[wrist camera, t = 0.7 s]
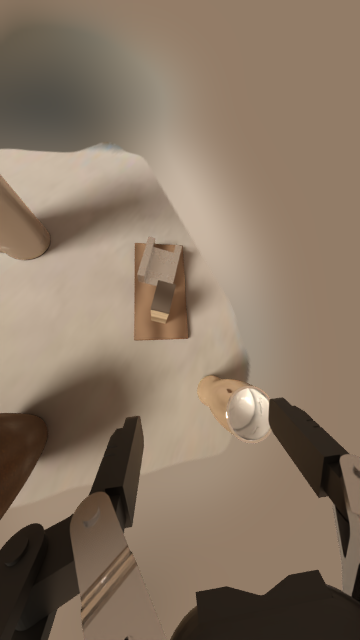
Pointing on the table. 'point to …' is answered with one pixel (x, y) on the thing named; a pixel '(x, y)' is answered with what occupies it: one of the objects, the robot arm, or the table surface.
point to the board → (144, 298)
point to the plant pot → (18, 453)
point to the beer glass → (237, 407)
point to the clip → (158, 264)
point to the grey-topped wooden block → (162, 301)
